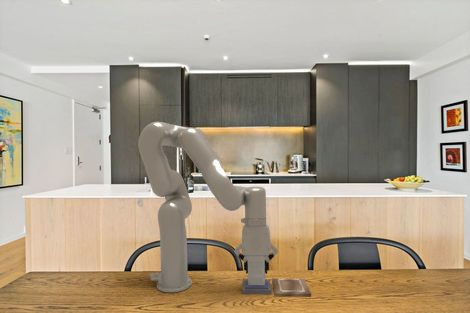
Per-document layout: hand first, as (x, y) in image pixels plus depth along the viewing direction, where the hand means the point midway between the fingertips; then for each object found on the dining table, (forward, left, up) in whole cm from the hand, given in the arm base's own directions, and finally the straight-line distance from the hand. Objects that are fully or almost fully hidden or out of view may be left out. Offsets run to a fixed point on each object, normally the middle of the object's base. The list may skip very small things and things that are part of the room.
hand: (256, 271), depth 111 cm
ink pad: (0, 0, -6) cm, 6 cm away
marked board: (+12, 0, -6) cm, 13 cm away
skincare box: (0, 0, -4) cm, 4 cm away
